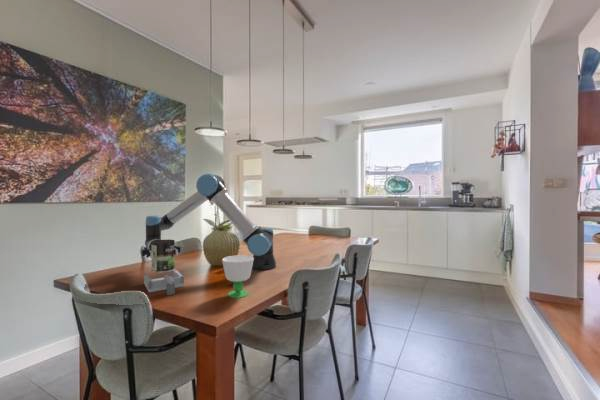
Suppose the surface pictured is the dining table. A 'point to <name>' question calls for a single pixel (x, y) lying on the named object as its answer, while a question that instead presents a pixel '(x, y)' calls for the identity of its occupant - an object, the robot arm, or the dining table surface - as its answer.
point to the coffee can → (163, 256)
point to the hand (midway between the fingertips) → (165, 254)
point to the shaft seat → (164, 283)
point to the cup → (237, 273)
